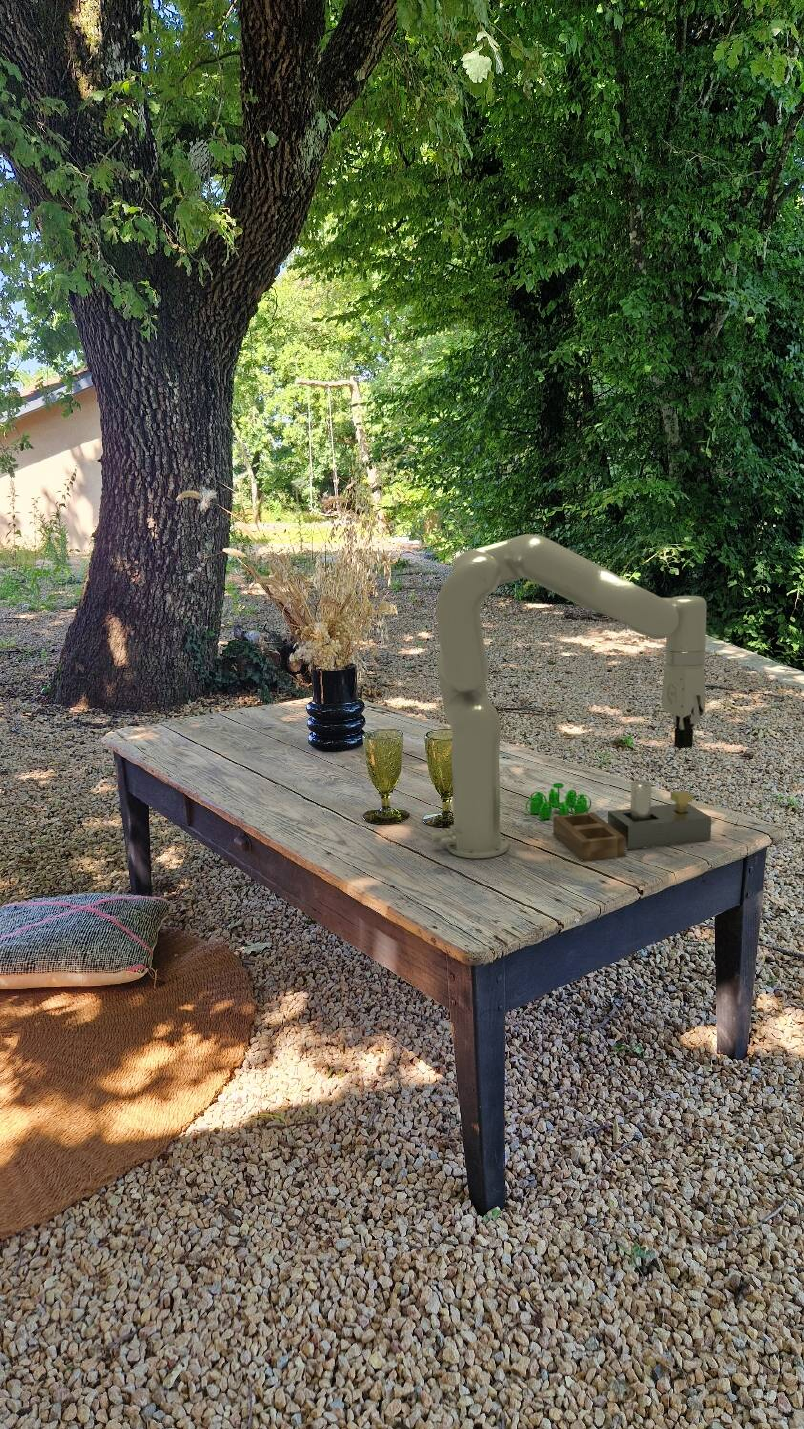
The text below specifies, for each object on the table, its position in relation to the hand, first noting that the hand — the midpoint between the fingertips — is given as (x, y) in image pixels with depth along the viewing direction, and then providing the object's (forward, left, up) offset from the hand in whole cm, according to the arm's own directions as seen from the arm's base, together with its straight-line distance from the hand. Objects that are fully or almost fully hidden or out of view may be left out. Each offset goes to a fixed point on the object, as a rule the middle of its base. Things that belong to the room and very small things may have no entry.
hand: (683, 746), depth 185 cm
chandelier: (-19, +21, -20) cm, 35 cm away
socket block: (-5, 0, -19) cm, 20 cm away
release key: (0, 0, -16) cm, 16 cm away
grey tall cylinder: (-9, 0, -19) cm, 21 cm away
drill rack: (-21, 0, -19) cm, 28 cm away
